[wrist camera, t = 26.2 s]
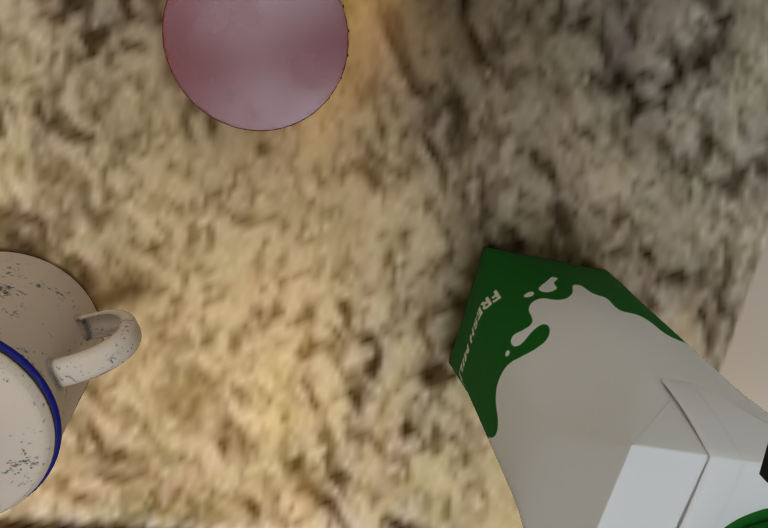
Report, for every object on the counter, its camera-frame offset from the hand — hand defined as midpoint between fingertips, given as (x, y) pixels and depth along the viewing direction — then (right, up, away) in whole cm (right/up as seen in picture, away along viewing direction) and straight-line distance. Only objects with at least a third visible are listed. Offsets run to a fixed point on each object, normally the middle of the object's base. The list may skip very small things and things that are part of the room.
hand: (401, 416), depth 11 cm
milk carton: (+7, 0, +28) cm, 29 cm away
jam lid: (-6, +12, +20) cm, 24 cm away
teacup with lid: (-17, 0, +25) cm, 30 cm away
